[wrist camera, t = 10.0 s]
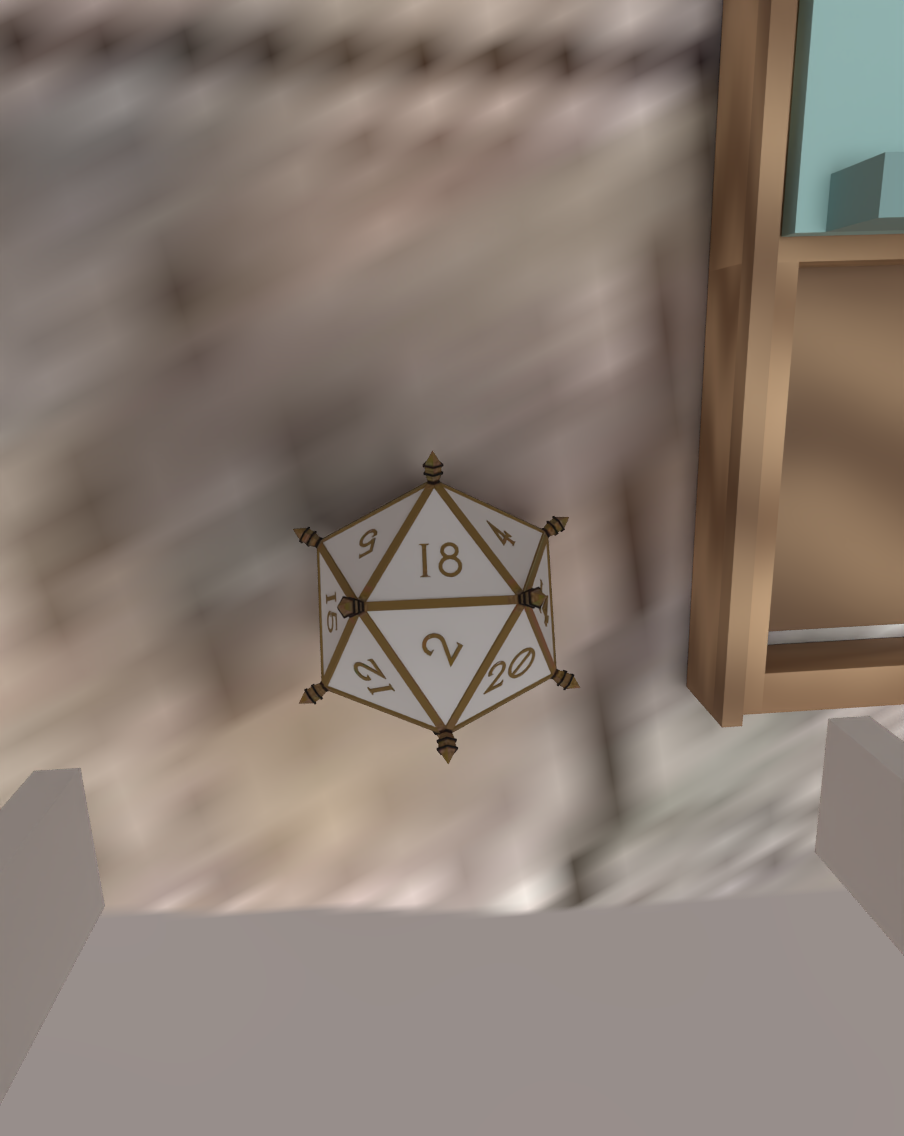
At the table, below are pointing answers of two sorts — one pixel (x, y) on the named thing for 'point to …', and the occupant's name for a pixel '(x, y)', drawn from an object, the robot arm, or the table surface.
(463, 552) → the game die
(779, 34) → the board
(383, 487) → the table surface
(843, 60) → the cover
